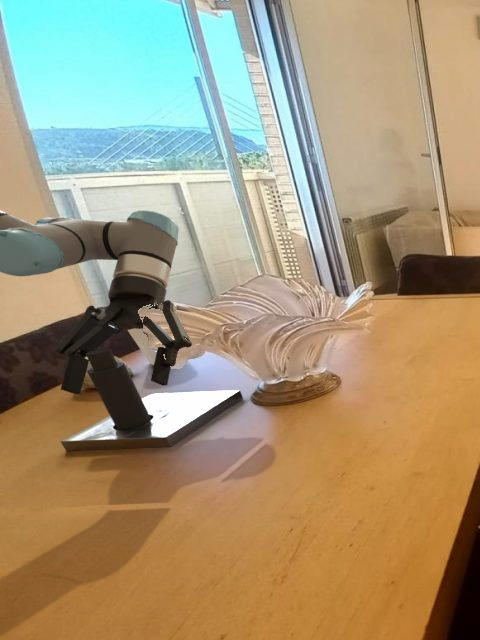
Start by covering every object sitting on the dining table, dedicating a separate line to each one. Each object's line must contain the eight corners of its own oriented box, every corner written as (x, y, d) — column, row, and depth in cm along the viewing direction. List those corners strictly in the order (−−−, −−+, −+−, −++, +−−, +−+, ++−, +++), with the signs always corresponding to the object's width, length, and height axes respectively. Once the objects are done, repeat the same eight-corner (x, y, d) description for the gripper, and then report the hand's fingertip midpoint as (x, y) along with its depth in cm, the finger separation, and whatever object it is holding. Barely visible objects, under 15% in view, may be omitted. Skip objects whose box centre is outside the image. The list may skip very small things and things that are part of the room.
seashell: (125, 365, 115) (117, 334, 110) (142, 390, 112) (134, 359, 107) (64, 379, 107) (51, 346, 102) (80, 406, 105) (68, 373, 99)
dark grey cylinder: (113, 438, 85) (70, 357, 79) (136, 425, 90) (97, 347, 83) (139, 437, 86) (98, 356, 79) (161, 424, 90) (124, 346, 83)
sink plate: (65, 451, 82) (60, 441, 81) (156, 401, 99) (152, 393, 98) (170, 447, 82) (166, 437, 82) (243, 398, 99) (240, 390, 98)
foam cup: (189, 350, 126) (169, 303, 121) (192, 359, 120) (172, 310, 115) (141, 360, 120) (118, 311, 115) (142, 370, 114) (118, 319, 109)
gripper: (225, 289, 97) (208, 386, 89) (83, 299, 93) (53, 401, 85) (199, 268, 90) (179, 372, 82) (45, 278, 86) (8, 388, 78)
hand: (115, 387), depth 84 cm, fingers open, 13 cm apart
